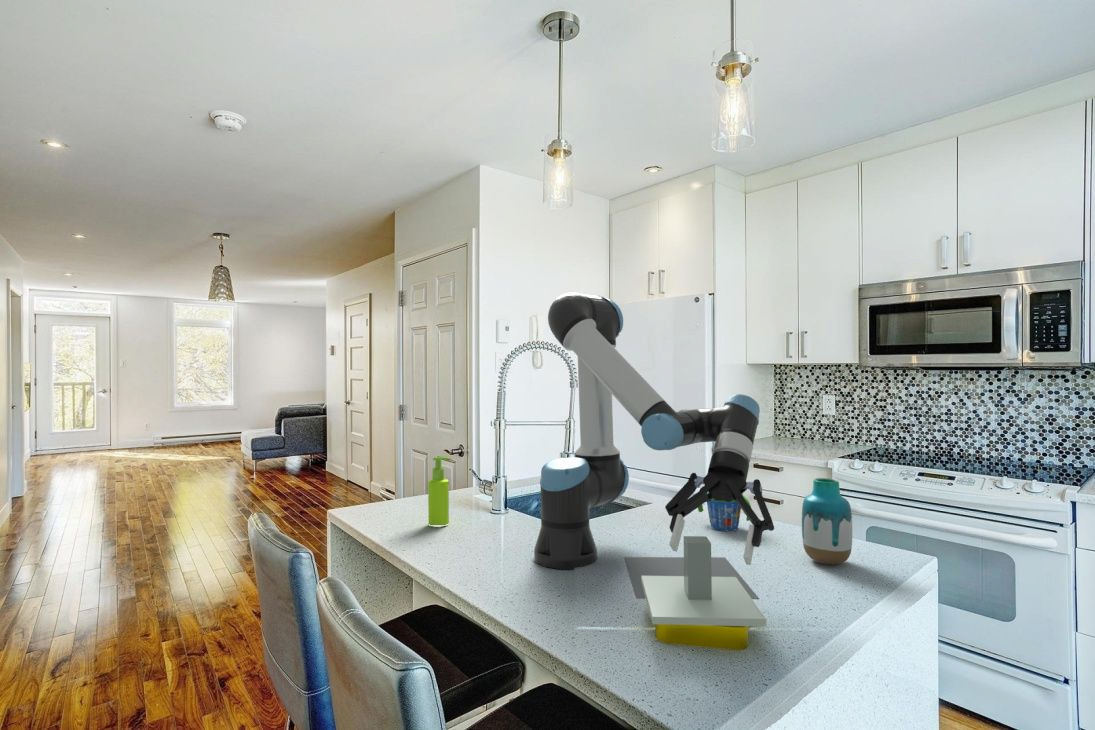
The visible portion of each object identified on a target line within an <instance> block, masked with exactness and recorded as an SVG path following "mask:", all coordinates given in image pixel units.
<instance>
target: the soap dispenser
mask: <svg viewBox="0 0 1095 730" xmlns="http://www.w3.org/2000/svg"><path fill="white" fill-rule="evenodd" d="M452 459H453V458H452V457H449V456H435V457H433V458H432V460H433V461H434V462H435V467H434V468H432V479H429V480H428V483H427V485H428V486H427V487H428V492H427V493H428V495H427V496H428V497H427V499H428V525H429V524H430V525H446V524H448V523H449V524H450V512H449V511H450V506H449V505H450V503H449V502H450V498H449V495H450V492H449V491H450V489H449V487H450V486H449V483H450V482H449V481H450V480H449V479H447V478H445V467H442V461H451V460H452Z"/></svg>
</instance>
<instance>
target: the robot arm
mask: <svg viewBox="0 0 1095 730" xmlns="http://www.w3.org/2000/svg"><path fill="white" fill-rule="evenodd" d="M547 321H548V322H547V323H548V326H549V328H550V331H551V333H552V335H554V337H555V339H556V341H557V342H559V344H560V345H561V346H562V347H563V348H564V349H565V350H566V351H569V352H570V351H571V352H573V353H574V354H575V355H576V356H577V374H578V375H577V379H578V402H579V403H578V405H579V411H578V412H579V436H580V437H579V439H580V445H579V447H578V448H577V449H576V451H575V452H574V457H572V456H571V457H563V458H556V459H553V460H550V461H548V462H546V463H545V464H544V465H543V466H542V467H541V471H540V481H539V484H540V522H541V523H540V524H541V525H540V530H539V533H538V536H537V539H536V543H535V546H534V550H533V553H534V555H533V557H534V559H535V560H534V559H533V560H534V562H535V563H537V565H538V564H539V565H540V566H543V567H545V568H551V569H558V570H575V569H576V568H583V567H588V566H589V565H593V564H594V563H595V562H596V561H597V560H598V549H597V546H596V545H597V544H596V543H595V539H594V537H593V534H592V533H593V532H592V530H591V525H590V509H593V508H595V507H599V506H602V505H606V504H611V503H613V502H614V501H615V500H617V499H619V498H621V497H622V496H623V495H624V494H625V492H626V490H627V488H628V486H629V481H630V475H629V474H630V473H629V470H628V469H629V468H627V465H626V464H625V462H624V460H622V459H621V453H620V450H619V449H618V448H617V447H616V446H615V445H614V424H613V423H614V422H613V420H614V419H613V397H614V398H615V399H616V401H618V402H619V403H620V405H621V406H622V407H623V408H624V409H625V410H626V411H627V412H628V413H629V414H630V416H632V418H633V419H634V420H635V421H636V423H637V424H639V426H640V427H641V429H640V432H641V433H640V434H641V436H642V437H641V438H643V439H642V440H643V442H644V443H645V445H646V446H648V448H650V449H652V450H655V451H672V450H675V449H676V448H679V447H684V446H689V445H695V444H699V443H711V442H712V443H713V442H714V445H713V448H712V454H711V458H710V462H709V464H708V465H709V466H708V469H707V473H706V475H705V476H700V475H697V473H696V472H692V473H691V474H690V475H689V478H688V480H687V482H686V483H685V484H684V485H683V486H682V487H681V488H680V489H679V491H678V492H676V493H675V495H674V496H673V497H672V498H671V499H670V500H669V501H668V502H667V503H666V505H665V506H664V508H665V510H666V512H667V514H668V516H670V517H671V521H670V524H669V530H670V532H671V537H670V541H669V544H668V545H669V546H670V547H671V550H672V551H673V552H675V553H676V552H678V551H679V550H678V549H679V545H680V541H681V537H682V534H683V529H684V527H685V523H686V522H685V519H684V518H685V517H686V516H688V515H690V514H692V512H694V511H695V510H696V509H698V507H699V506H701V505H704V504H705V503H707V502H709V501H710V500H711V499H715V500H716V501H722V500H723V501H726V502H731V501H733V500H735V501H736V502H737V504H738V505H739V506H740V507H741V511H743V514H745V516H746V518H747V517H748V519H749V521H750V523H751V524H748V525H749V526H748V532H747V536H746V540H745V546H744V551H743V560H744V563H745V565H747V566H751V564H752V559H753V555H754V548H755V547H756V548H759V547H760V546H761V542H762V536H763V532H765V531H770V532H772V531H774V530H775V526H774V521H773V519H772V516H771V514H770V512H769V508H768V507H767V505H766V501H765V498H764V496H763V487H762V483H761V481H760V480H759V479H757V478H755V479H754V480H753V481H747V479H748V473H749V468H750V462H751V459H752V454H753V449H754V444H755V443H754V442H755V437H756V434H757V428H758V426H759V423H760V422H759V421H760V412H761V409H760V404H759V403H758V402H757V401H756V400H755V399H754V397H753V398H752V397H751V396H748V395H746V394H738V393H737V394H732V395H731V396H729V397H727V399H726V400H725V402H724V403H723V406H717V407H710V408H695V409H686V408H685V409H681V410H675V409H673V407H672V406H671V405H670V404H669V403H668V402H667V401H666V400H665V399H664V398H663V397H662V396H661V395H660V394H659V393H658V392H657V391H656V390H655V389H654V387H652V385H651V384H649V382H648V381H647V380H646V379H645V378H644V377H643V376H642V375H641V374H640V373H639V372H638V371H637V370H636V369H635V368H634V367H633V365H632V364H631V363H629V362H628V360H627V359H626V358H624V356H623V355H622V354H621V353H620V352H619V351H618V350H617V348H616V347H617V342H616V341H617V338H618V336H620V333H622V330H623V327H624V317H623V312H622V310H621V308H620V307H619V305H618V304H617V303H616V302H615V301H613V300H612V299H609V298H608V297H604V296H601V295H591V294H584V293H579V292H567V293H563V294H561V295H560V296H559V295H558V297H557V298H555V300H553V302H552V304H551V305H550V306H549V310H548V313H547ZM701 485H703V486H702V487H701ZM700 487H701V488H700ZM698 488H700V489H699V490H698V491H697V492H696V490H697V489H698ZM747 490H750V493H751V494H753V495H754V497H755V500H756V502H757V505H758V508H759V510H760V513H761V516H762V518H763V519H762V520H761V518H759V517H758V515H757V514H756V512H755V511H754V510H753V509H752V506H751V507H750V506H749V504H748V503H747V501H746V500H745V499H744V497H745V496H744V495H743V496H744V497H743V496H742V493H743V494H744V493H745V492H746V491H747ZM695 492H696V493H695ZM707 492H709V493H708V494H707ZM694 493H695V494H694Z"/></svg>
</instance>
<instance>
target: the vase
mask: <svg viewBox="0 0 1095 730" xmlns="http://www.w3.org/2000/svg"><path fill="white" fill-rule="evenodd" d="M812 483H813V484H812V492H811V493H810V494H807V495H806V496H805V497H804V499H803V502H802V506H801V535H802V543H803V544H802V546H803V549H804V551H805V554H806V555H807V556H808V558H810V559H811V560H813V561H816V562H818V563H820V564H825V565H839V564H843V563H845V562H846V561H848V560H849V558H850V555H851V554H852V549H853V548H852V547H853V514H852V513H853V512H852V507H851V505H850V502H849V501H848V500H847V499H846V498H845V497H844V496H842V495H841V492H840V489H841V488H840V481H839V480H837V479H834V478H833V479H832V478H826V477H817V478H814V479H813V482H812Z"/></svg>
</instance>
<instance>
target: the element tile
mask: <svg viewBox="0 0 1095 730" xmlns="http://www.w3.org/2000/svg"><path fill="white" fill-rule="evenodd" d="M654 629H655V630H654V631H655V632H654V634H655V636H654V637H655V639H656V640H657V641H659V642H661V643H664V644H672V645H681V646H690V647H691V646H693V647H700V648H710V649H718V650H719V649H720V650H727V651H728V650H729V651H745V650H747V648H749V626H719V625H669V624H654Z"/></svg>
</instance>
